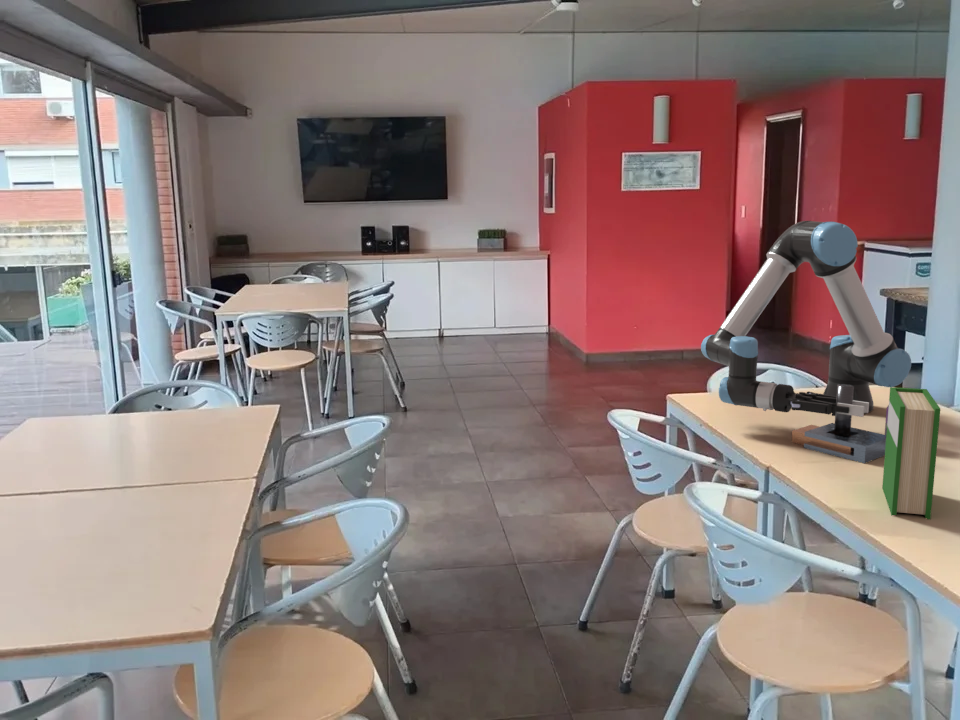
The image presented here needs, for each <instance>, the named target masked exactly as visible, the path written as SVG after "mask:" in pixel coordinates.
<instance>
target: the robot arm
mask: <svg viewBox="0 0 960 720" xmlns="http://www.w3.org/2000/svg"><path fill="white" fill-rule="evenodd" d="M858 245H859V244H858V239H857V236H856V233H855V232H854V230H853V229H851V227H849V226H848V225H846V224H843V223H841V222H838V221H815V220H804V221H803V220H802V221H799V222H797V223H794V224H793V225H790V227H788V228H787V229H786V230H785V231H783V232H782V234H780V235H779V236H778V238H777V239H776V240H775V242H774V243H773V245H772V246H771V247H770V248H769V250H768V251H767V253H766V254H765V255H766V260H765V261H764V263H763V264H762V266H761V267H760V269H759V270H758V272H757V273H756V275H755V276H754V278H753V279H752V280H751V282H750V283H749V285H748V286H747V288H746V289H745V290H744V292H743V293H742V295H741V296H740V297H739V299H738V301H737V302H736V304H735V305H734V306H733V308H732V309H731V311H730V312H729V313H728V315H727V316H726V318H725V319H724V321H723V322H722V323H721V325H720V327H719V328H718V330H717V331H716V332H715V334H709V335H707V336H706V337H705V338H703V340H702V342H701V344H700V350H701V353H702V355H703V356H704V358H707V359H708V360H710V361H712V362H714V363H718V364H721V365H724V366H725V367H728V376H725V377H723V378H722V379H721V381H720V382H719V387H718V396H719V400H720V401H721V402H722V403H725V404H730V405H733V406H739V407H740V406H741V407H749V408H754V409H755V408H756V409H762V411H764V412H766V411H767V410H769V411H773V410H774V411H776V412H781V413H789V412H790V411H791V410H792V411H801V412H809V413H817V414H824V415H831V416H832V417H835V415H836V413H839V414H846V415H852V416H854V417H860V418H864V414H869V413H871V412H872V411H874V399H873V396H872V393H871V392H872V391H871V389H870V384H873V385H876V386H879V387H884V388H890V387H898V386H899V385H900V384H902V383H903V382H904V381H905V380H906V379H907V377H908V376H909V372H910V371H911V369H912V368H911V367H912V359H911V358H912V357H911V356H910V354H909V353H908V352H907V351H905V350H904V349H903V348H899V347H898V346H897V344H896V342H895V339H894V337H893V336H892V334H890V333H888V332H884V330H883V327H882V325H881V323H880V321H879V319H878V316H877V314H876V312H875V309H874V308H873V305H872V303H871V301H870V298H869V297H868V295H867V292H866V290H865V288H864V286H863V283H862V281H861V279H860V277H859V274H858V272H857V270H856V268H855V263H856V261H857V256H856V255H857V251H858V250H857V248H858V247H859V246H858ZM803 263H809V264H810V267H811V269H812V272H813V273H814V275H815V276H816V277H818V278H821V279H823V281H824V283H825V285H826V287H827V289H828V292H829V294H830V295H831V297H832V300H833V302H834V304H835V307H836V308H837V310H838V313H839V314H840V317H841V320H842V322H843V323H844V326H845V327H846V330H847V331H848V334H845V335H844V334H842V335H836V336H833V337H832V338H831V341H830V345H829V362H828V363H829V364H828V380H827V384H826V387H825V389H824V391H823V393H816V392H812V391H806V392H804V391H799V392H797V393H796V392H795V391H794V387H793V386H792V385H790V384H782V383H778V384H777V383H776V382H767V381H759V380H757V370H758V369H757V368H758V358H759V357H758V356H759V346H758V345H759V341H758V339H757V338H755V337H752V336H747V334H748V333H749V332H750V330H751V329H752V328H753V326H754V324H755V323H756V322H757V320H758V319H759V317H760V315H761V314H762V313H763V311H764V310H765V309H766V307H767V305H769V303H770V302H771V300H772V299H773V297H774V296H775V294H776V293H777V291H778V290H779V289H780V287H781V286H782V284H783V283H784V281H785V280H786V279H787V277H788V276H789V274H790V273H794V272H796V271H797V269H798V268H799V267H800V265H801V264H803ZM869 383H870V384H869ZM839 384H848V385H852V386H854V392H853V405H852V404H845V403H837V405H836V396H837V385H839Z"/></svg>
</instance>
